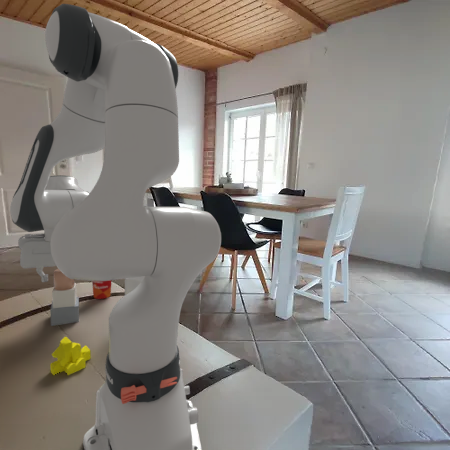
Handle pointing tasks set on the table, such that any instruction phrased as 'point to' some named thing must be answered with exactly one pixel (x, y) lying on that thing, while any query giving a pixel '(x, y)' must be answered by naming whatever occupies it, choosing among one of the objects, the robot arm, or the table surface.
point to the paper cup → (101, 289)
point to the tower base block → (65, 314)
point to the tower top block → (64, 297)
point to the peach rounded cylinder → (62, 281)
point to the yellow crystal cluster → (69, 357)
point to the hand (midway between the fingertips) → (64, 279)
